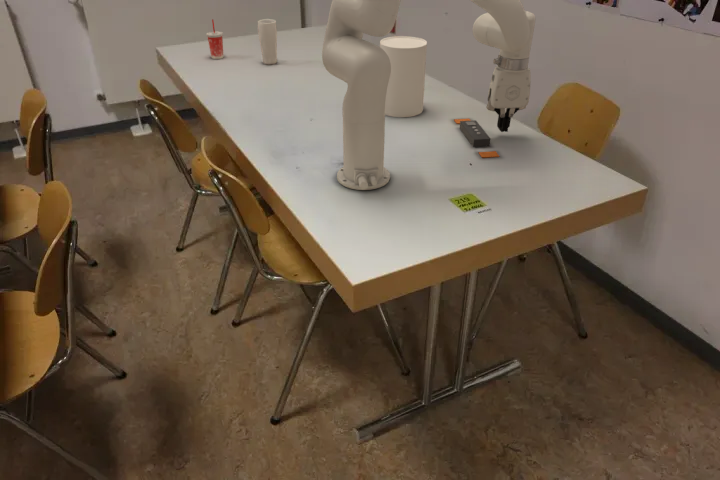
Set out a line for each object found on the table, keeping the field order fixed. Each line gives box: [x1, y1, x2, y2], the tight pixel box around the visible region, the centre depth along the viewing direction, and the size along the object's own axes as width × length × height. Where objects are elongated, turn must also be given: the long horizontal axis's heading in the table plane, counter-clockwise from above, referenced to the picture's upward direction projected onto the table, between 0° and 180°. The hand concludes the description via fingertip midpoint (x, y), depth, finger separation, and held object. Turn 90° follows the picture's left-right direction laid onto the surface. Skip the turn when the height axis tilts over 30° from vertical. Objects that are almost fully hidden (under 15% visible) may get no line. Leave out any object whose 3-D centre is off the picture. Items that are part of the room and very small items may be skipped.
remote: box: [459, 120, 492, 148], centre depth 157 cm, size 13×5×2 cm, turn 8°
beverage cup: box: [205, 18, 225, 60], centre depth 217 cm, size 6×6×14 cm
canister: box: [379, 35, 428, 118], centre depth 170 cm, size 14×14×20 cm
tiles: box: [453, 118, 500, 159], centre depth 157 cm, size 26×5×1 cm, turn 8°
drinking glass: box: [257, 18, 278, 65], centre depth 211 cm, size 7×7×15 cm
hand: (502, 129), depth 157 cm, fingers closed
